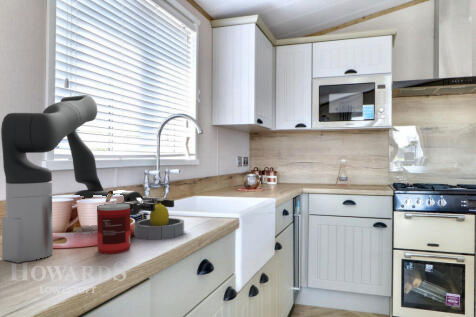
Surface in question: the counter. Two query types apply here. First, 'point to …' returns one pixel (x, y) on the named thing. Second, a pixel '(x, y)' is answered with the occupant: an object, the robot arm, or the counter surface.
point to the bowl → (159, 229)
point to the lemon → (159, 216)
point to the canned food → (113, 228)
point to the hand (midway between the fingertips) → (164, 205)
